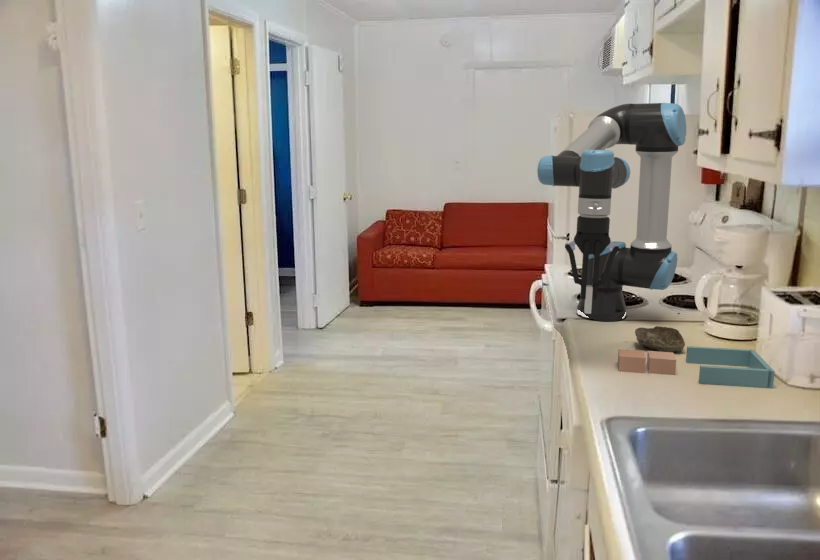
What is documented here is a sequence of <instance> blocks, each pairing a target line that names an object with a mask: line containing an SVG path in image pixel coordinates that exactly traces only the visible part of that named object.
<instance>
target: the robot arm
mask: <svg viewBox="0 0 820 560" xmlns="http://www.w3.org/2000/svg"><path fill="white" fill-rule="evenodd" d="M686 136H687V120H686V115H685V112H684V109H683V108H682V106H681V105H680V104H678V103H669V102H654V103H653V102H652V103H651V102H650V103H623V104H620V105H617V106H613V107H612V108H611V107H610V108H609V109H606V110H604V111H603V112H602V113H600V114H598V115H597V116H595V118H593V119H592V120H591V121H590V122H589V124H588V126H587V129H585V131H583V132H582V133H581V134H580V135H579V136H578V137H577V138H576V139H575V140H574V141H572V142H571V143H570V144H569V145H568V146H567V147H565V148H564V149H563V150H562V151H561V152H560V153H558V154H557V155H544V156H541V158H540V160H539V161H538V165H537V171H536V172H537V178H538V181H539V183H540V184H542V185H545V186H552V187H575V188H576V187H577V188H578V199H577V200H578V201H577V214H578V215H579V216H577V218H576V219H577V221H576V234H575V235H574V238H573V240H571V241H570V242H565V244H564V249H565V250H566V252H567V253H568V256H569V262H570V267H571V272H572V276H573V277H572V279H573V281H574V284H577V285H579V286H580V299H579V301H578V303H577V306H576V310H577V309H578V310H580V311H581V312H583V313H584V314H585V315H586V316H588V317H589V318H590V319H594V320H593V321H597V320H598V321H599V322H615V321H617V322H619V321H622V320H621V319H622V317H623V316H624V314H625V312H626V309H627V306H626V303H625V299H624V295H623V286H626V287H632V288H640V289H642V288H643V289H647V290H656V291H657V290H661V291H664V290H666V289H667V288H669V287H670V285H671V283H672V281H673V279H674V277H675V273H676V269H677V264H678V254H677V252H675V251H673V250H672V248H673V247H672V243H671V242H670V241H669V240H668V238H667V235H668V225H669V224H668V222H669V207H670V193H671V191H670V190H671V179H672V178H671V176H672V164H673V163H672V160H673V157H674V156H675V155H676V154H677V153H679V147H682V146H683V145H684V144H685V142H686ZM615 145H635V153H636V154H637V155H638V156H639V158H640V161H639V162H640V163H639V164H640V165H639V183H638V198H637V199H638V200H637V216H636V217H637V219H636V237H635V239H634V240H632V242H630V247H627V245H626V242H625V241H618V240H617V241H612V240H611V237H610V225H611V224H610V223H611V222H610V221H611V220H610V217H609V216H611V215H610V214H611V209H612V208H611V207H612V204H611V203H612V193H613V192H612V191H613V189H617V188H620V187H622V186H623V185H625V184H626V183H627V182H628V180H629V179H630V177H631V168H630V165H629V163H628V162H627V161H626V160H625V159H623V158H620V157H618V156H615V153H614V151H613V150H612V149H611V150H608V149H610V148H613V147H615ZM576 246H577V248H578V249H579V251H580V253H582V262H581V278H580V277H579V271H578V268H577V263H576V262H577V261H576V256H575V253H574V251H575V249H576ZM590 319H589V320H590Z"/></svg>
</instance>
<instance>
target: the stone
mask: <svg viewBox="0 0 820 560" xmlns="http://www.w3.org/2000/svg"><path fill="white" fill-rule="evenodd" d="M634 334H635V337H636V341H637V342H638V344H639V345H642V346H644V347H645V348H650V349H652V351H659V352H673V353H677V352H680V351H683V349H684V348H685V347H686V341H685V339H684V337H683V336H682V334H681V333H680V331H679V330H678V329H676V328H674V327H667V326H659V325H655V326H654V327H651V328H648V327H647V328H646V327H638V328H636V329H635V331H634Z"/></svg>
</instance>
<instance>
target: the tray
mask: <svg viewBox="0 0 820 560" xmlns="http://www.w3.org/2000/svg"><path fill="white" fill-rule="evenodd" d="M685 363H687V364H699V374H698V383H699V384H701V385H716V386H733V387H734V386H735V387H750V388H762V389H763V388H764V389H766V388H767V389H774V382H775V381H774V380H775V370H774V369H773V368H772V366H770V364H768V362H767V361H766V360H765V359H764V358H763V357H761V356H760V355H759V354H758V352H757V351H756V350H755V349H748V348H747V349H744V348H727V347H725V348H724V347H711V346H710V347H708V346H707V347H706V346H691V345H690V346H686V355H685ZM706 364H707V365H706ZM719 365H720V366H719ZM732 366H735V367H732ZM736 366H738V367H736Z"/></svg>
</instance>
